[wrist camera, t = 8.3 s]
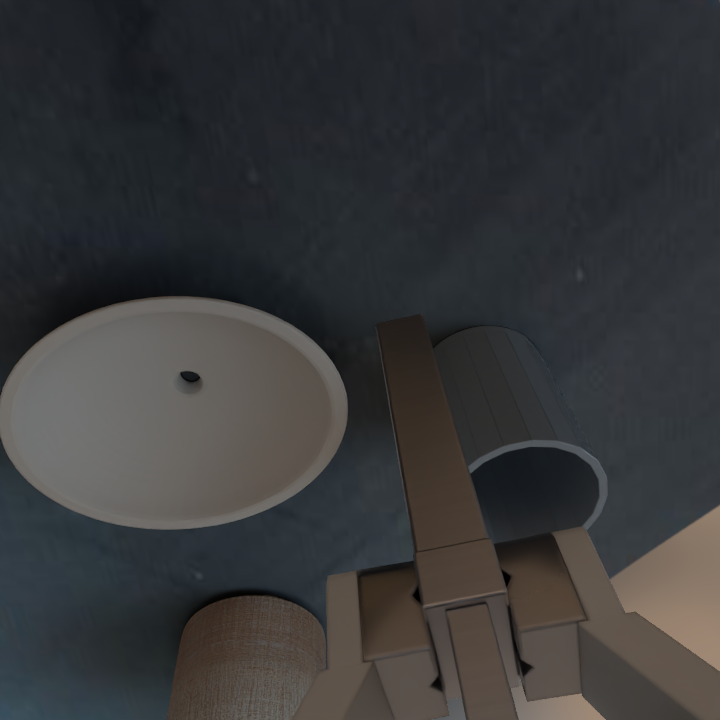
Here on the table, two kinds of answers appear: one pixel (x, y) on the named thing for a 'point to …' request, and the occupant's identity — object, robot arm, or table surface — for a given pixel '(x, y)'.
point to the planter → (246, 660)
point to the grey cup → (518, 436)
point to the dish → (173, 412)
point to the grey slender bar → (448, 531)
